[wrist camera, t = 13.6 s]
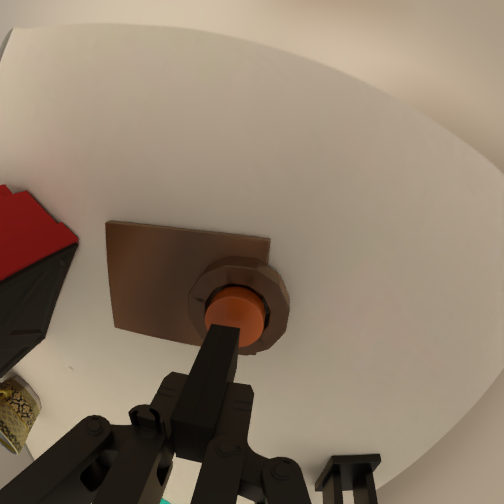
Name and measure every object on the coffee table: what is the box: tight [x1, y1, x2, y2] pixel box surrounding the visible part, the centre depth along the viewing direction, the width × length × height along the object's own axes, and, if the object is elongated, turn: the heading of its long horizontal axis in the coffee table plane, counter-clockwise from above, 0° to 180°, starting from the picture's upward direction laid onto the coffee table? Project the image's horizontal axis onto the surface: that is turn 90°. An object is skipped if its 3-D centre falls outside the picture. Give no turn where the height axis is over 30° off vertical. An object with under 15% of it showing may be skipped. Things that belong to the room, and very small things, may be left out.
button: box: [205, 286, 266, 347], centre depth 18 cm, size 4×4×2 cm
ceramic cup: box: [0, 376, 41, 455], centre depth 25 cm, size 13×10×10 cm
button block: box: [105, 221, 290, 355], centre depth 20 cm, size 14×9×2 cm, turn 85°
